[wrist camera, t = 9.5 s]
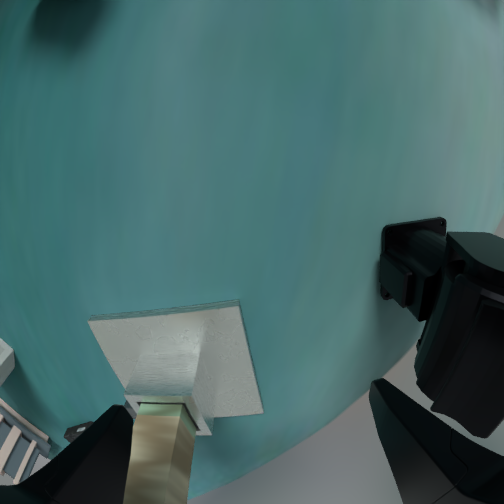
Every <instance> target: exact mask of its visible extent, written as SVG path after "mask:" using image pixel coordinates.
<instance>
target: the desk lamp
mask: <svg viewBox="0 0 504 504" xmlns="http://www.w3.org/2000/svg"><path fill="white" fill-rule="evenodd" d="M48 437H49V436H47V435H46V434H44V433H43V432H42V431H40V430H39V429H37V428H36V427H35V426H33V425H32V424H31V423H29V422H28V421H27V420H26V419H24V418H23V417H22V416H21V415H19V414H18V413H17V412H16V411H14V410H13V409H12V408H11V407H10V406H9V405H7V404H6V403H5V402H4V401H3V400H2V399H1V398H0V474H1V475H2V476H3V475H4V473H7V474H8V475H9V476H11V477H12V478H13V479H14V481H13V483H14V484H15V485H16V484H19V483H21V482H22V481H24V480H25V479H27V478H28V477H29V476H30V474H31V471H32V469H33V467H34V464H35V462H36V460H37V457H38V455H39V454H41V455H42V456H44V457H45V458H48V454H49V451H50V447H51V445H50V444H48V443H47V441H48Z"/></svg>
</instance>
